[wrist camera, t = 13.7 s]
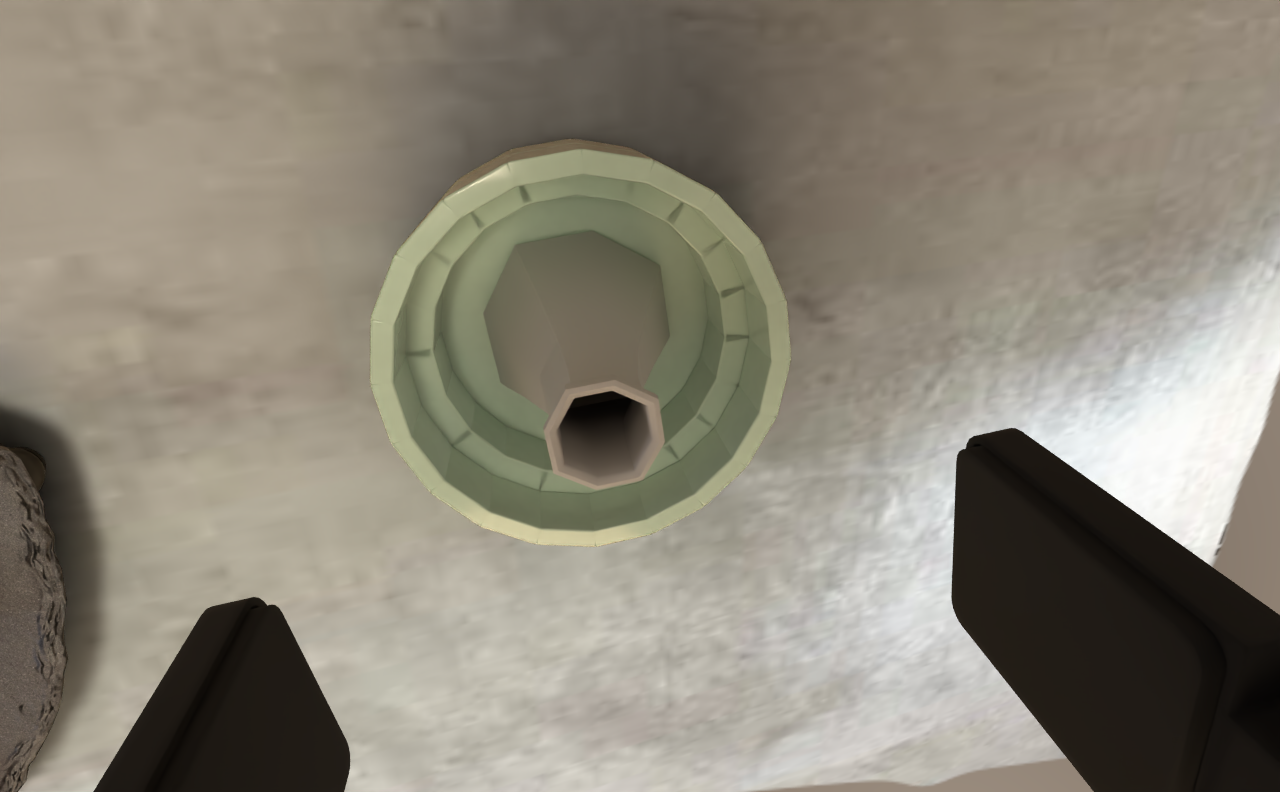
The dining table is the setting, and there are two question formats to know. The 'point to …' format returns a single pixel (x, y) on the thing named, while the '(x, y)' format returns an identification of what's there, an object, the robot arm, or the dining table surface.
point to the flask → (584, 351)
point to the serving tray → (27, 617)
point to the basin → (511, 424)
